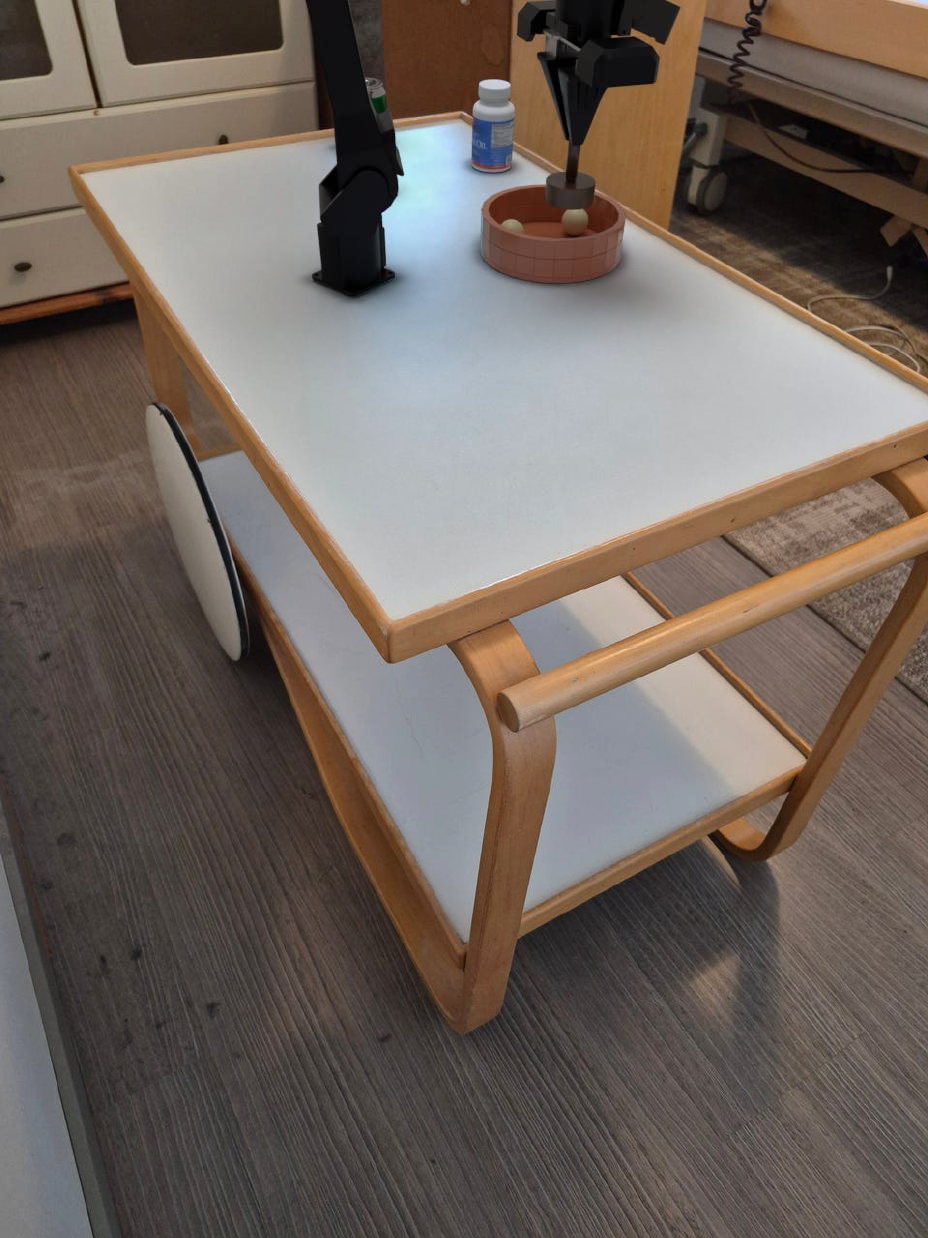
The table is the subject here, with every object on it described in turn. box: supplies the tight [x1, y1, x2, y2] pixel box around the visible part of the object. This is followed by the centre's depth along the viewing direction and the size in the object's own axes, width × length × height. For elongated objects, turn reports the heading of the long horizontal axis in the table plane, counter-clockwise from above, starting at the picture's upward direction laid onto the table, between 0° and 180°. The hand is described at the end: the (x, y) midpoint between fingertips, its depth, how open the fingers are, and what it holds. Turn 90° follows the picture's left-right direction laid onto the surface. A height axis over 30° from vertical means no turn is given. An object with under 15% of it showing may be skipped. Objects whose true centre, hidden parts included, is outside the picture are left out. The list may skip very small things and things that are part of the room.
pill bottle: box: [470, 78, 516, 173], centre depth 116 cm, size 6×5×10 cm
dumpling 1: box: [501, 219, 525, 234], centre depth 99 cm, size 3×3×3 cm
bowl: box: [479, 183, 627, 284], centre depth 100 cm, size 16×16×4 cm
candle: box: [348, 0, 388, 105], centre depth 117 cm, size 8×7×20 cm
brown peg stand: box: [545, 136, 597, 210], centre depth 89 cm, size 5×5×9 cm
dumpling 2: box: [562, 209, 588, 236], centre depth 102 cm, size 3×3×3 cm
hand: (573, 142), depth 89 cm, fingers closed on brown peg stand
